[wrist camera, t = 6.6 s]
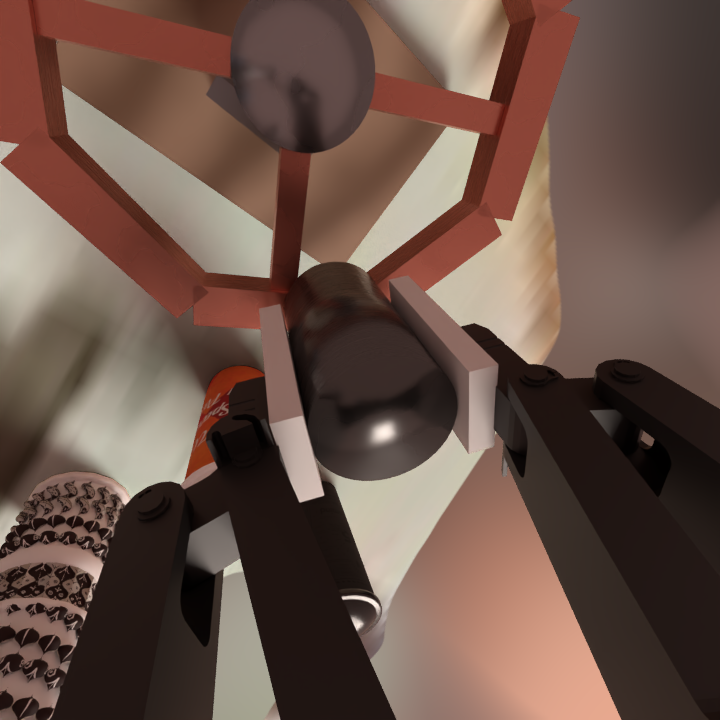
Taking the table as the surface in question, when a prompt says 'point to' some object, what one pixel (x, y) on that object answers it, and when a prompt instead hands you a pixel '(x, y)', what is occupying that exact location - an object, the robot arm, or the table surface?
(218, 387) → the paper cup
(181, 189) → the table surface
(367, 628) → the drinking cup
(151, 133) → the brown block
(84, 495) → the decorative candle
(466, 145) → the table surface
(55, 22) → the handwheel
